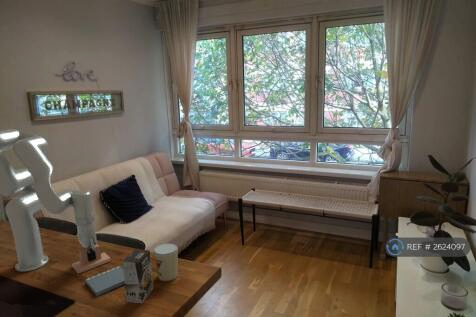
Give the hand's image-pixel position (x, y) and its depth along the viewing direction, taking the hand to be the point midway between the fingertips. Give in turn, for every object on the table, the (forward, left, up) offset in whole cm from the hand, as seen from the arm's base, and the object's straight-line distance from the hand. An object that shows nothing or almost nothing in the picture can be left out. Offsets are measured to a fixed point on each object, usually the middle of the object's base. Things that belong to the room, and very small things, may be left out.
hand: (90, 258), depth 144 cm
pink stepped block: (0, 0, -3) cm, 3 cm away
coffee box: (+37, +5, -3) cm, 37 cm away
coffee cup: (+33, +19, -3) cm, 38 cm away
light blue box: (+20, 0, -3) cm, 20 cm away
